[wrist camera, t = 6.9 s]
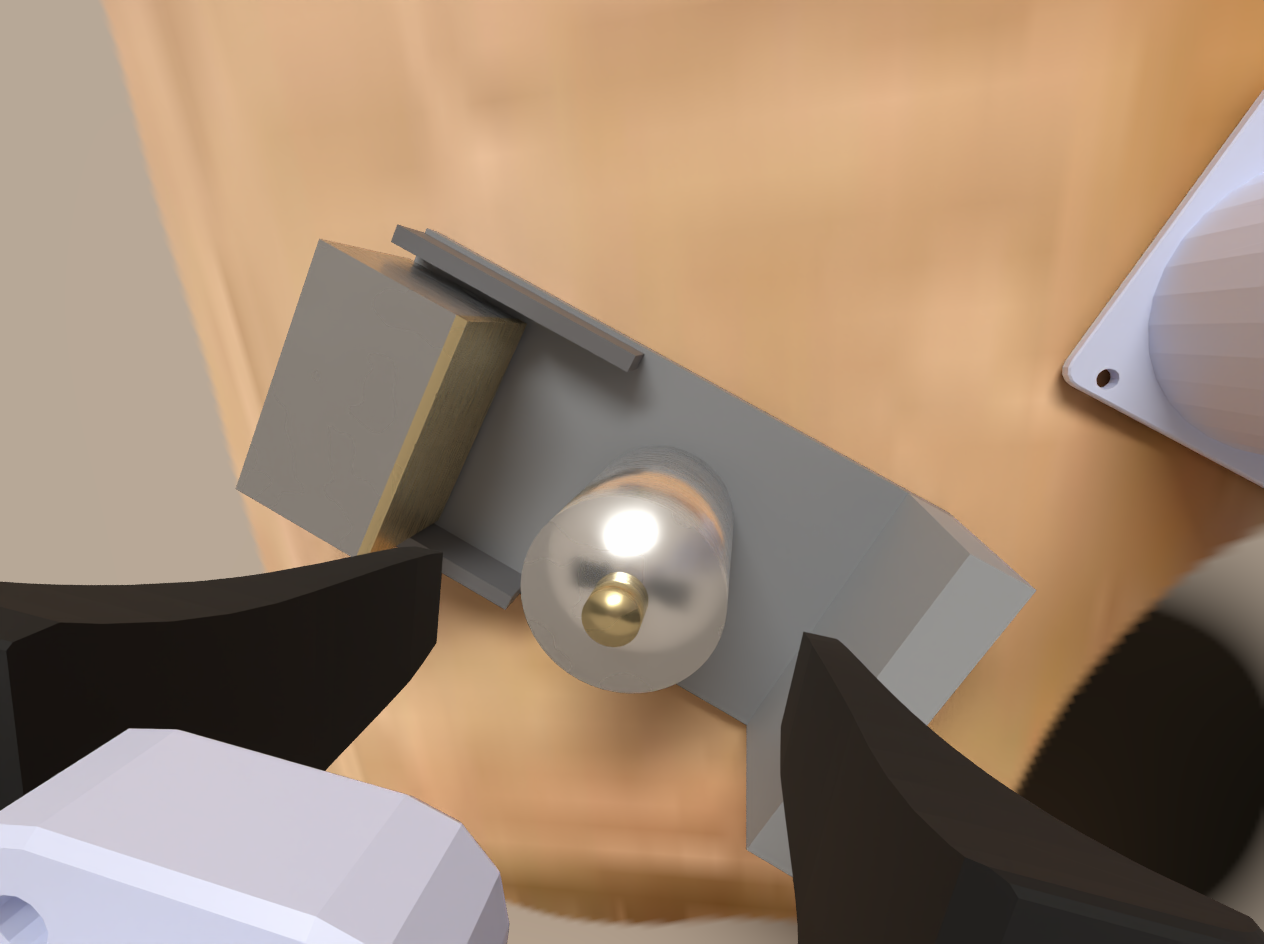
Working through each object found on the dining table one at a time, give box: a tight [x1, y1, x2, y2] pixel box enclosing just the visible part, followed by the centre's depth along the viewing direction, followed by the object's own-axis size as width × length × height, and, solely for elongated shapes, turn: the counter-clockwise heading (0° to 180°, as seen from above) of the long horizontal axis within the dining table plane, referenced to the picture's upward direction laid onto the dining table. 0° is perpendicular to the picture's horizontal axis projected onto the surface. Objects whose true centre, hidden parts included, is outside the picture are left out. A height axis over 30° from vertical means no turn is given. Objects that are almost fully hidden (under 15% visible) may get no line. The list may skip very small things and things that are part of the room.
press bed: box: [391, 224, 1036, 877], centre depth 17 cm, size 18×9×6 cm, turn 62°
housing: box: [521, 446, 734, 693], centre depth 16 cm, size 4×4×7 cm
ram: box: [236, 239, 527, 557], centre depth 17 cm, size 4×7×4 cm, turn 152°
